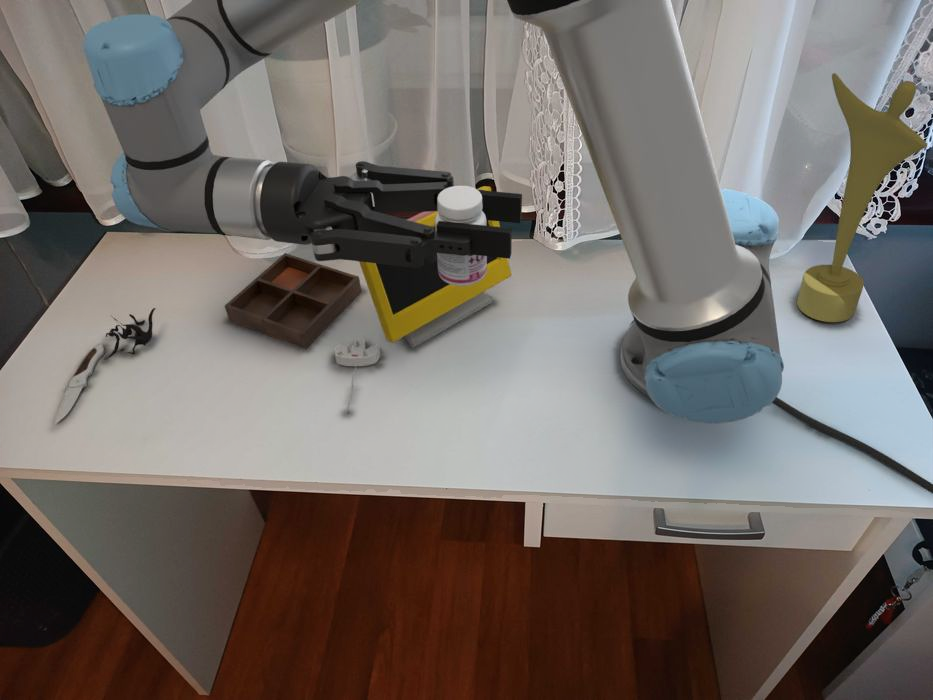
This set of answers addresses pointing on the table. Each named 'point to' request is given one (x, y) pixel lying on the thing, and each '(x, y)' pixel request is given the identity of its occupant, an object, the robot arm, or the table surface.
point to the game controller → (357, 356)
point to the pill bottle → (467, 209)
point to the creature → (140, 335)
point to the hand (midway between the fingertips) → (515, 225)
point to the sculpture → (858, 195)
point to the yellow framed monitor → (427, 293)
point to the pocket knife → (79, 380)
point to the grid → (294, 300)
